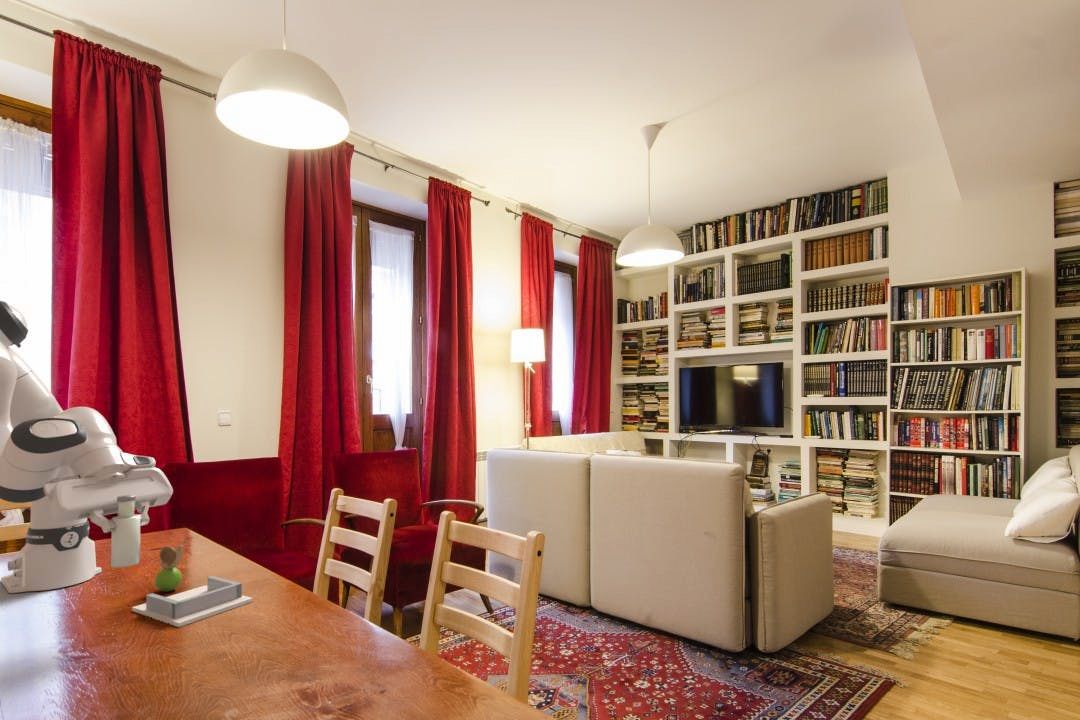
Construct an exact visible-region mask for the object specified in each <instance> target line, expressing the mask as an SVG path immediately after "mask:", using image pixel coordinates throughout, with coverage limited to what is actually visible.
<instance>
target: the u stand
mask: <svg viewBox="0 0 1080 720" xmlns="http://www.w3.org/2000/svg"><path fill="white" fill-rule="evenodd" d="M242 588H243V583H241V582H239V581H233V580H230V579H226V578H222V577H218V576H215V575H212V576H211V575H210V576H209V577H207V584H206V585H203V586H199V587H195V588H193V589H189V590H185V591H181V592H178V593H176V594H171V595H169V596H166V597H165V596H163V595H159V594H156V593H153V592H152V593H149V594H145V595H146V598H145V599H146V602H145V603H142V604H139V605H135V606H132V607H131V608H132V609H131V611H132V612H134V613H137V614H140V615H142V616H145V617H148V616H149V617H148V618H151V617H152V619H154V620H156V621H159V620H160V621H159V622H162V621H163V622H162V623H165V624H168V623H169V625H172V626H174V627H176V628H181V627H184V626H187V625H189V624H191V623H195V622H198V621H201V620H204V619H207V618H210V617H212V616H215V615H218V614H221V613H224V612H227V611H230V610H232V609H236V608H238V607H242V606H244V605H246V604H247V605H248V604H250V603H253V602H254V601H253V599H254V598H253V597H250V596H246V595H242V594H243V589H242Z"/></svg>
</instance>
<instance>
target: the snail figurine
mask: <svg viewBox="0 0 1080 720" xmlns="http://www.w3.org/2000/svg"><path fill="white" fill-rule="evenodd" d="M184 542H185V540H184V539H181V540H179V545H177V546H176V549H175V548H174V547H173V546H171V545H170V546H169V545H167V546H164V547H163V548H162V549H161V550H160V552H159V559H160V562H159V565H160V567H161V568H163V569H161V570H160V571H159V572H158V573H157V574H156V576H155V580H154V585H155V587H156V588H157V589H158V590H159V591H162V592H165V593H166V592H171V591H173V590H175V589H177V588H178V587H179V586H180V584H181V583H182V580H183V574H182V572H181V570H179V569H178V568H177V567H178V565H179V564H180V563H181V559H182V555H183V550H184V544H183V543H184Z"/></svg>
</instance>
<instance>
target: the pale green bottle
mask: <svg viewBox="0 0 1080 720" xmlns="http://www.w3.org/2000/svg"><path fill="white" fill-rule="evenodd" d="M134 500H136V495H124V496H118V497H117V502H118V513H117V516H114V517H112V518H111V519H113V520H114V523H115V525H116V528H115V529H114V531H112V532H111V541H110V542H111V544H110V545H111V548H110V551H111V554H110V555H111V556H110V557H111V558H110V561H111V563H110V565H111V568H125V567H131V566H135V565H137V564H139V563H140V562H141V526H140V515H139V514H137V513H136V514H135V510H134Z"/></svg>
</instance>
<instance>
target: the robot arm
mask: <svg viewBox="0 0 1080 720" xmlns="http://www.w3.org/2000/svg"><path fill="white" fill-rule="evenodd" d="M28 333H29V329H28V324H27V320H26V319H25V316H24V315H23V314H22V312H21V311H19V310H18V309H17V308H15V307H14V306H12V305H10V304H8V303H7V302H6V301H2V300H0V500H3V501H4V502H8V503H12V504H26V503H30V526H29V527H28V528H27V533H26V535H25V536H26V537H25V545H24V546H23V547H22V548H20V549H21V550H19V552H18V553H16V555H15V556H14V558H13V560H12V559H11V560H9V561H8V562H7V571H9V572H11V571H12V573H9V574H6V575H3V576H2V577H0V583H1V584H2V586H3V587H4V588H5V589H6V591H7V593H9V594H16V593H25V592H36V591H49V590H54V589H55V590H56V589H61V588H65V587H70V586H74V585H78V584H80V583H81V584H82V583H84V582H86V581H89V580H91V579H92V578H93V577H95V576H96V575H97V574H100V573H102V567H100V566H97V561H96V560H97V559H96V544H95V541H94V540H93V539H91V538H89V535H90V522H91V523H93V524H95V525H96V526H99V527H100V528H101V529H102V531H103V533H104V534H105V533H110V532H111V533H112V531H114V529H115V528H116V525H115V523H114V520H113V519H112V518H110V519H108V518H107V517H105V516H108V515H112V514H118V502H117V497H118V496H124V495H136V500H134V511H135V510H137V513H140V514H138V515H140V527H141V526H148V524H149V522H150V521H151V520H150V516H149V514H148V511H149V508H151V507H158V506H163V505H166V504H168V502H169V500H170V499H171V497H172V495H173V494H174V489H173V486H172V485H171V483H170V481H169V479H168V477H167V476H166V474H165V473H164V472H163V471H162V470H161V469H160V468H159V467H158V468H157V467H156V460H155V458H154V457H151V456H145V455H136V454H131V453H127V452H123V450H122V449H121V448H120V447H119V446H118V444H117V437H116V435H115V433H114V431H113V428H112V427H111V426H110V424H109V422H108V421H107V419H106V418H105V417H104V415H102V414H101V413H100V412H99V411H98V410H96V409H95V408H92V407H88V406H75V407H70V408H68V409H65V410H63V408H62V407H61V405H60V404H59V402H58V401H57V399H56V397H55V395H53V392H51V391H50V390H49V388H48V387H47V385H45V383H44V382H43V381H42V380H41V378H40V377H39V376H38V375H37V374H36V373H35V371H34V370H33V369H32V367H30V365H28V363H27V362H26V361H25V360H24V359H23V358H22V357H21V356H20V355H19V354H18V353H16V351H14V350H13V349H12V348H11V347H10V346H14V345H15V346H16V347H17V348H18V349H20V348H21V347H22V345H21V343H22V342H24V340H25V339H26V338H27V335H28ZM88 519H90V521H89V520H88Z"/></svg>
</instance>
